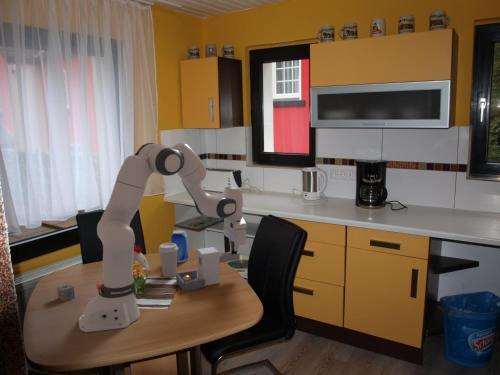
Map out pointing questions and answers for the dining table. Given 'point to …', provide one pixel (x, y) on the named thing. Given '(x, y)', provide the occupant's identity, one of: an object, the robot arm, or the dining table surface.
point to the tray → (192, 284)
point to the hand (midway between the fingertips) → (234, 249)
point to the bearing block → (209, 265)
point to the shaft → (227, 255)
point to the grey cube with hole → (65, 292)
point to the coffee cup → (168, 259)
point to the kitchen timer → (140, 258)
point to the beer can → (180, 244)
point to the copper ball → (186, 278)
